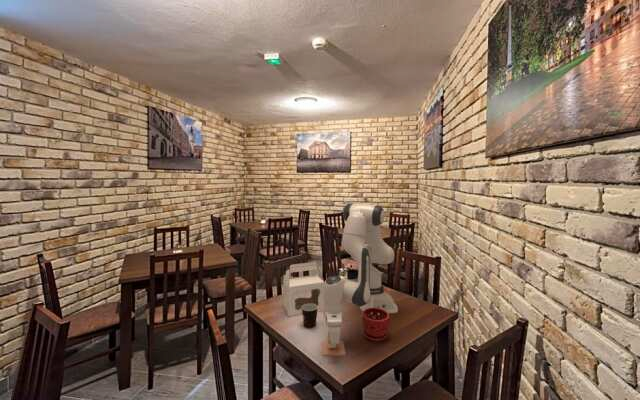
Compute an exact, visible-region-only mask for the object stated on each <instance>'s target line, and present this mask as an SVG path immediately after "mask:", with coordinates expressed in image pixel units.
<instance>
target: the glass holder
mask: <svg viewBox="0 0 640 400" xmlns="http://www.w3.org/2000/svg"><path fill="white" fill-rule="evenodd" d="M358 270H359V269H354V268H353V269H352V268H351V269H347V271H346V272H347V276H346V274H345V273H344V272H340V273H339V274H338V276H340V275H341V274H343V276H344V279H347V280H350V281H354V282H358ZM346 277H347V278H346Z"/></svg>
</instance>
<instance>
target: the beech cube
mask: <svg viewBox="0 0 640 400" xmlns="http://www.w3.org/2000/svg"><path fill="white" fill-rule="evenodd" d="M327 341H328V348H339V343H338V344H336V346H335V347H333V346H332V344H331V342H330V335H329V331H327Z"/></svg>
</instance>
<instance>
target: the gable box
mask: <svg viewBox="0 0 640 400" xmlns="http://www.w3.org/2000/svg"><path fill="white" fill-rule="evenodd" d="M321 269H322V268H321V266H318V264H317V262H316V261H312V262H311V261H310V262H302V263H301V262H300V263H294V264H290V265H289V269H287V270H285V275H284V277H283V280H282V281H283V284H282V285H283V288H282V289H283V308H284V310H285V311H286V313H287V316H288V317H294V316H299V315H302V306H303V305H305V304H315V305H317V306H318V309H317V313H318V312H324V303H325V300H324V284H325V280H324V278H323V275H322V271H321ZM306 271H315V274H313V275H305V276H298V277H297V276H296V277H292V276H291V274H292V273H298V272H306ZM299 291H300V292H301V291H304V292H305V291H306V292H307V291H310V292H311V296H310V297H298V298H296V299H295V298H294V294H295V293H296V292H299Z"/></svg>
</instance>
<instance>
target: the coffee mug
mask: <svg viewBox="0 0 640 400" xmlns="http://www.w3.org/2000/svg"><path fill="white" fill-rule="evenodd" d="M317 309H318V306H317V305H315V304H305V305H303V306H302V314H301V315H302V320H303V321H302V322H303V327H304V328H305V329H313V328H315V327H316V324H317V316H318V312H317Z"/></svg>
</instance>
